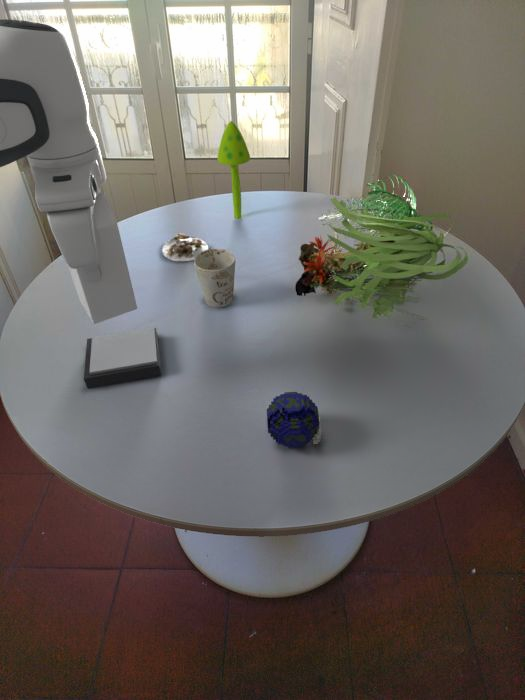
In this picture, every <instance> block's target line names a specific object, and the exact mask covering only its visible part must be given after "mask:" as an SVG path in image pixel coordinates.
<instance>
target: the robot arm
mask: <svg viewBox="0 0 525 700" xmlns="http://www.w3.org/2000/svg"><path fill="white" fill-rule="evenodd" d="M78 67H79V66H78V65H77V62H76V59H75V55H74V54H73V51H72V49H71V47H70V44H69V43H68V40H67V39H66V37H65V36H64V34H62V33H61V32H60V31H59V30H58V29H57V28H55V27H53V26H51V25H49V24H46V23H41V22H33V21H29V20H18V19H3V18H2V19H0V168H2V167H6V166H7V165H10V164H12V163H14V162H17V161H19V160H21V159H23V158H25V157H26V159H27V162H28V164H29V165H28V166H29V167H30V173H31V176H32V178H33V184H34V199H35V203H36V205H37V208H38V211H40V212H41V213H46V219H47V221H48V222H47V223H48V225H49V228H50V230H51V233H52V235H53V237H54V240H55V241H56V244H57V247H58V249H59V251H60V253H61V256H62V258H63V260H64V262H65V263H66V264H67V267H68V266H69V267H70V268H72V269H79V268H82V269H83V270H84V271H85V272H86V275H87V278H88V281H89V282H98V281H101V276H102V273H101V270H100V266H99V265H98V255H99V243H100V239H99V235H98V231H97V228H96V222H95V215H92V213H93V208H94V205H95V201H96V197H97V196H98V195H99V194H100V188H101V186H102V185H104V184H105V183H106V181H107V178H108V177H107V173H106V169H105V165H104V162H103V161H104V160H103V156H102V153H101V148H100V146H99V141H98V138H97V136H96V133H95V132H94V130H93V129H92V126H91V123H90V117H89V109H90V108H89V102H88V98H87V95H86V90H85V87H84V84H83V80H82V76H81V74H80V70H79V68H78ZM69 267H68V268H69Z"/></svg>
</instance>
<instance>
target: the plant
mask: <svg viewBox="0 0 525 700" xmlns="http://www.w3.org/2000/svg"><path fill="white" fill-rule="evenodd" d="M391 175H392V176H394V178H395V179H396V180H397V181H401V184H403V185H404V187H405V191H404V195H403V197H405V196H406V192H408V191H409V194H408V197H407V198H406V200H405V199H404V198H402V197H401V196H400V195H398V194H395V193H394V192H395V191H392V193H391V192H388V191H386V190H387V185H386V183H385V182H384V180H382V179H380V178H378V181H380V183H381V184H382V186H383V189H382V187H381V186H380V185H379V184H377V183H375V182H371V183H370V182H368V183H367V184H366V187H371V188H372V190H371V191H366V194H367V195H366V196H364V197H365V198H363V199H362V197H363V195H359V196H356V198H353V196H351V197H350V199H347V200H346V201H347V202H348V203H349V205H347V204H346V202H344V201H343V199H341V201H339V200H338V199H337V198H336V196H334V197H332V198H329V200H330V202H331V203H332V204H333V205H334V206H335V209H336V210H337V211H338V212H333V213H330V211H327V212H328V213H329V215H327V214H323V213H321V214H322V215H323V216H322V217H317V220H320V221H321V222H325V221H327V220H330V219H332V220H331V221H329V222H327V223H322V226H326V225H327V226H328V227H330V228H331V230H333V231H334V236H335V237H334V236H332V235H329V234H327V237H328V239H327V240H326V242H325V243H324V241H323V239H322V235H320V238H319V237H318V236H316V235H315V236H314V240H315V242H314V241H308V242H309V244H308V243H303V244H301V245H300V255H299V257H298V260H299V262H300V264H301V266H302V268H303V270H304V271H303V273H302V274H301V276H300V277H299V279H298V280H297V281H296V283H295V285H294V289H295V290H294V291H295V293H296V295H297V296H298V297H303V296H304V297H306V295H307V294H312V293H314V294H317V292H316V289H317V288H319V289H320V288H321V291H322V290H323V295H324V296H327V295H330V296H331V297H332V296H333V295H334V296H335V298H336V299H335V300H334V301H333V303H334V304H335V305H336V306H342V304H343V301H344V300H346V302H347V303H348V310H351V305H350V299H351V300H354V301H355V302H357V303H360V304H358V306H359V307H360V308H361V309H362V310H363V309H365V308H366V307H368V308H369V309H371V310H373V311H372V315H371V317H372V319H377V318H378V316H380V317H381V316H382V315H383V316H384V317H387V318H389V319H392V320H393V321H395V322H397V323H399V324H400V325H403V326H405V327H407V328H409V329H411V330H413V331H415V332H418V330H417V329H415V328H413V327H411V326H409V325H407V324H406V323H403V322H401V321H399V320H397V319H395V318H393V317H391V316H389V315H388V312H389V313H391V314H393V313H394V311H396V312H399V313H401V314H403V315H407V316H410V317H413V318H415V319H419V320H422V321H424V320H427V318H426V317H423V316H420V315H417V314H414V313H411V312H408V311H406V310H402V309H399V308H396V307H395V304H396V301H398V303H402V305H404V304H405V303H406V302H410V303H416V304H419V302H418V301H414V300H413V301H412V300H408V299H406V298H412V296H409V295H406V294H407V292H408V291H409V292H411V293H414V292H415V290H413V288H412V287H411V286H417V283H416V282H422V281H423V280H431V281H439V280H444V279H447V278H449V277H451V276H453V275H455V274H457V272H459V271H460V270H462V269H463V268H464V267H465V266H466V265H467V263H468V260H469V255H468V253H467V252H466V250H465V249H464V248H463V247H461V246H457V245H451V244H446V243H444V238H445V236H446V235H447V234H448V233H449V231H447V232H446V233H444V234H443V232H442V231H441V230H440V228H439V227H438V226H437V225H434V224H433V222H431V220H437V219H444V218H450V219H453V217H452V216H451V215H450V214H447V213H439V214H432V215H422V214H421V213H420V212H419V210H417V211H416V207H417V198H416V194H415V193H414V190H413V188H412V186H411V185H410V184H409V183H408V182H407V181H406V179H404V178H402V177H401V176H400V175H395V174H394V173H391ZM387 178H388V179H390V181H391V183H392V186H393V187H395V183H394V181H393V179H392V178H391V177H390V176H386V177H385V178H384V179H387ZM398 178H399V179H398ZM397 184H398V187H399V183H397ZM376 187H377V188H376ZM400 191H402V188H401V189H400ZM385 195H386V196H385ZM384 196H385V197H384ZM389 196H390V197H389ZM393 199H394V200H393ZM410 199H411V200H410ZM350 200H352V201H350ZM354 200H355V201H356V203H355V201H354ZM351 202H352V203H351ZM409 202H410V203H409ZM341 220H342V221H341ZM340 221H341V223H340V224H337V225H334V224H336V223H339V222H340ZM349 221H350V222H349ZM426 221H427V222H426ZM354 224H355V226H353V225H354ZM454 224H455V221H454V220H452V224H451V227H450V228H449V230H451V229H452V228H453V226H454ZM333 225H334V226H333ZM433 228H435V229H436V230H438V231H439V236H437V234H436V233H435V232H434V231H433ZM365 231H366V232H365ZM338 234H340V235H342V236H344V239H345V240H346V239H348V238H351V239H354V241H353V242H354V244H353V246H355V247H352V246H350V245H349V244H347V243H346V242H344V241H341V240H340V239H338V238H339V235H338ZM356 242H358V243H357V244H356ZM323 243H324V244H323ZM329 243H333V244H331V246H330V247H329V248H327V249H326V247H327V246H328V244H329ZM444 247H445V248H446V247H447V248H451V249H454V250H455V251H456V257H455V258H454V259H452V260H451V261H450V262H448V263H446V254H445V252H444V249H443V248H444ZM343 249H345V250H346V252H342V251H343ZM457 249H461V250H463V251H464V258H463V259H462V254H461V253H460V251H459V250H457ZM438 252H441V253H442V256H443V260H442V261H440V262H439V263H437V261H438ZM436 263H437V264H436ZM439 272H442V273H439ZM434 273H437V274H434ZM372 296H374V297H377V298H376V299H375V300H372V299H371V298H372ZM355 298H358V300H357V299H355ZM413 298H415V299H420V297H418V296H413ZM369 303H370V305H371V306H369V305H368V304H369ZM341 308H342V307H340V308H339V309H340V310H341Z"/></svg>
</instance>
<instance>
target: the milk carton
mask: <svg viewBox="0 0 525 700" xmlns="http://www.w3.org/2000/svg"><path fill="white" fill-rule="evenodd" d="M92 215H95V222H96V228H97V231H98V235H99V239H100V243H99V255H98V265H99V266H100V270H101V273H102V276H101V281H98V282H89V281H88V278H87V275H86V272H85V271H84V270H83V269H82V268H79V269H72V268H70V267H69V266H68V265H67V267H68V269H69V272H70V275H71V278H72V282H73V285H74V287H75V291H76V293H77V296H78V299H79V302H80V304H81V305H82V307H83V309H84V310H85V312H86V313H87V315H88V317H89V319H90V320H91V321H92V323H93V325H95V324H99V323H102V322H104V321H107V320H110V319H112V318H113V319H114V318H117V317H119V316H122V315H124V314H127V313H130V312H133V311H135V310H137V309H138V305H137V301H136V296H135V293H134V292H135V291H134V288H133V284H132V279H131V275H130V271H129V267H128V262H127V257H126V254H125V250H124V246H123V242H122V238H121V233H120V228H119V225H118V221H117V219H116V217H115V213H114V212H113V210H112V208H111V206H110V204H109V201H108V199H107V197H106V194H105V192H104V187H103V186H102V185H101V188H100V194H99V195H98V196H97V197H96V201H95V205H94V208H93V213H92Z"/></svg>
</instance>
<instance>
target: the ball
mask: <svg viewBox="0 0 525 700" xmlns="http://www.w3.org/2000/svg"><path fill="white" fill-rule="evenodd" d="M266 423H267V425H266V426H267V433H268V434H270V438H272V440H273V441H275V443H277V445H282V446H283V447H287V448H289V449H291V448H292V449H293V448H301V447H302V446H306V444H308V443H310V442H312V444H313V445H319V443H320V442H321V439H322V435H321V433H322V424H321V416H320V414H319V408H318V405H316V403H315V402H313V399H310V396H308V394H303V393H301V392H299V393H298V391H285V392H284V393H281V394H279V395H276V396H275V397H273V399H272V401H270V404H268V408H266Z"/></svg>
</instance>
